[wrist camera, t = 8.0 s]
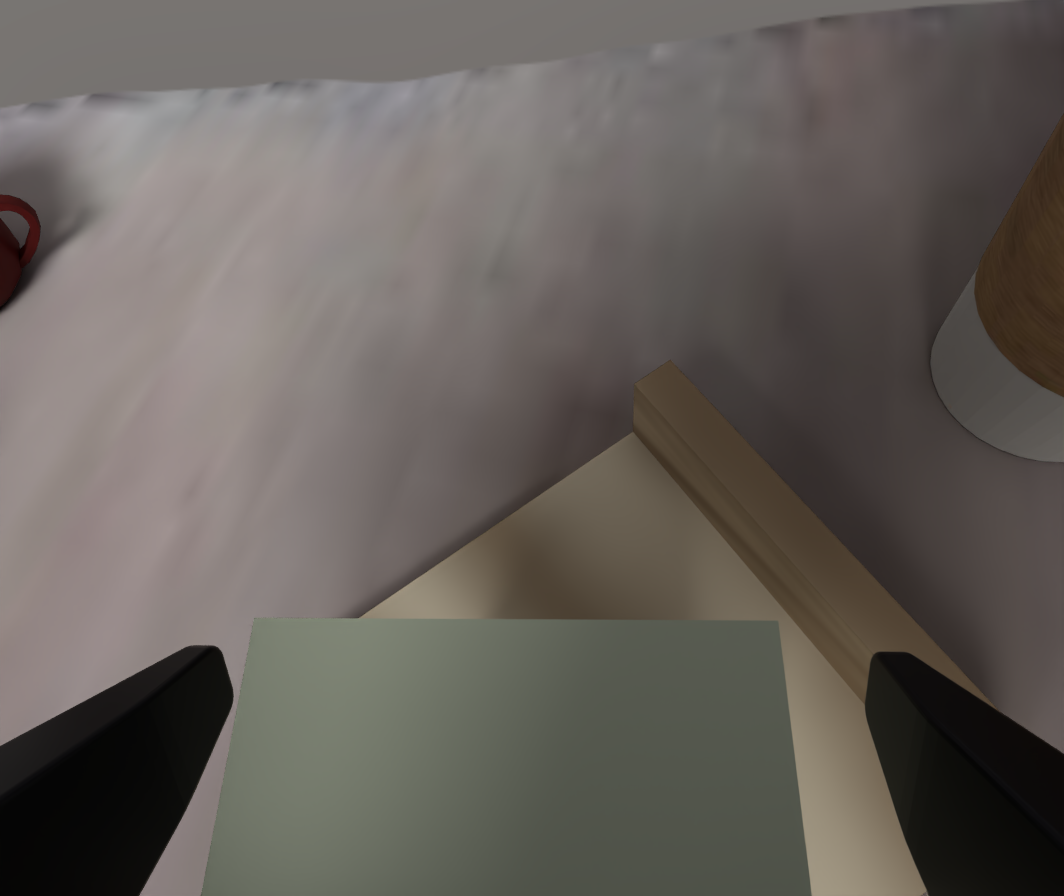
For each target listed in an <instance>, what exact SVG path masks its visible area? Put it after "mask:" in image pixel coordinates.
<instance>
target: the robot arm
mask: <svg viewBox="0 0 1064 896" xmlns="http://www.w3.org/2000/svg"><path fill="white" fill-rule="evenodd" d="M233 697H234V695H233V687H232V684H231V680H230V677H229V674H228V670H227V667H226V664H225V660H224V657H223V654H222V651H221V650H220V649H219V648H218V647H216V646H212V645H193V646H188V647H185V648H183V649H181V650H180V651H178V652H176V653H174V654H172V655H170V656H168V657H166V658H165V659H163V660H161V661H159V662H157V663H155V664H153V665H151V666H150V667H148V668H146V669H144V670H142V671H140V672H138V673H136V674H135V675H133V676H131V677H129V678H127V679H125V680H123V681H121V682H119V683H118V684H116V685H114V686H112V687H110V688H108V689H106V690H104V691H103V692H101V693H99V694H97V695H95V696H93V697H91V698H89V699H88V700H86V701H84V702H82V703H80V704H78V705H76V706H74V707H73V708H71V709H69V710H67V711H65V712H63V713H61V714H59V715H58V716H56V717H54V718H52V719H50V720H48V721H46V722H44V723H43V724H41V725H39V726H37V727H35V728H33V729H31V730H29V731H27V732H26V733H24V734H22V735H20V736H18V737H16V738H14V739H12V740H11V741H9V742H7V743H5V744H3V745H1V746H0V896H139V895H140V893H141V892H142V890H143V888H144V886H145V884H146V883H147V881H148V879H149V877H150V875H151V873H152V872H153V870H154V868H155V866H156V864H157V863H158V861H159V859H160V857H161V855H162V854H163V852H164V850H165V848H166V846H167V844H168V843H169V841H170V839H171V837H172V835H173V834H174V832H175V830H176V828H177V826H178V824H179V822H180V821H181V819H182V817H183V815H184V813H185V811H186V809H187V807H188V805H189V803H190V801H191V798H192V796H193V794H194V792H195V790H196V788H197V785H198V783H199V781H200V778H201V776H202V774H203V772H204V769H205V767H206V765H207V763H208V760H209V758H210V756H211V753H212V751H213V749H214V747H215V744H216V742H217V740H218V737H219V735H220V733H221V731H222V728H223V726H224V724H225V722H226V719H227V717H228V715H229V712H230V710H231V707H232V704H233ZM865 714H866V719H867V723H868V726H869V730H870V733H871V736H872V739H873V742H874V745H875V748H876V752H877V755H878V758H879V761H880V764H881V767H882V770H883V774H884V777H885V780H886V783H887V786H888V789H889V793H890V796H891V799H892V802H893V805H894V808H895V811H896V815H897V818H898V821H899V824H900V827H901V830H902V832H903V835H904V838H905V841H906V844H907V846H908V848H909V851H910V853H911V856H912V858H913V861H914V863H915V865H916V868H917V870H918V872H919V874H920V877H921V879H922V881H923V884H924V886H925V888H926V890H927V893H928V895H929V896H1064V754H1063V753H1062V752H1060V751H1059V750H1057V749H1056V748H1054V747H1053V746H1051V745H1050V744H1048V743H1047V742H1045V741H1044V740H1042V739H1041V738H1039V737H1038V736H1036V735H1034V734H1033V733H1031V732H1030V731H1028V730H1027V729H1025V728H1024V727H1022V726H1021V725H1019V724H1018V723H1016V722H1015V721H1013V720H1012V719H1010V718H1009V717H1007V716H1006V715H1004V714H1002V713H1001V712H999V711H998V710H996V709H995V708H993V707H992V706H990V705H989V704H987V703H986V702H984V701H983V700H981V699H980V698H978V697H977V696H975V695H974V694H972V693H971V692H969V691H967V690H966V689H964V688H963V687H961V686H960V685H958V684H957V683H955V682H954V681H952V680H951V679H949V678H948V677H946V676H945V675H943V674H942V673H940V672H939V671H937V670H935V669H934V668H932V667H931V666H929V665H928V664H926V663H925V662H923V661H922V660H920V659H919V658H917V657H916V656H914V655H912V654H910V653H908V652H887V651H879V652H876V653H875V654H873V656H872V658H871V661H870V667H869V674H868V682H867V689H866V697H865Z"/></svg>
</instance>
